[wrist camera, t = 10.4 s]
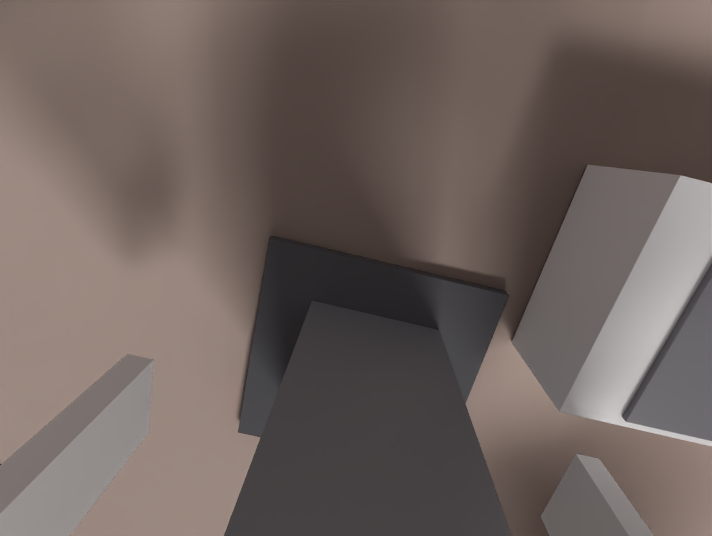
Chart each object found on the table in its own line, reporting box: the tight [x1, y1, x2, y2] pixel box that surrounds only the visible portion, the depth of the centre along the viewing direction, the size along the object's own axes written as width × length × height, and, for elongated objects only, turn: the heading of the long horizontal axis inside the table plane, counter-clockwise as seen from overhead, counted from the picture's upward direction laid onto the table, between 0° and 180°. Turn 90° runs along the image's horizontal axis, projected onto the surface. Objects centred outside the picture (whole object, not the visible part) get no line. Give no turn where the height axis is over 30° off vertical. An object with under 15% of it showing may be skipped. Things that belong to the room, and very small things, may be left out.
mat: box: [238, 236, 509, 437], centre depth 15 cm, size 9×9×1 cm
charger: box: [224, 301, 512, 536], centre depth 10 cm, size 5×5×10 cm
